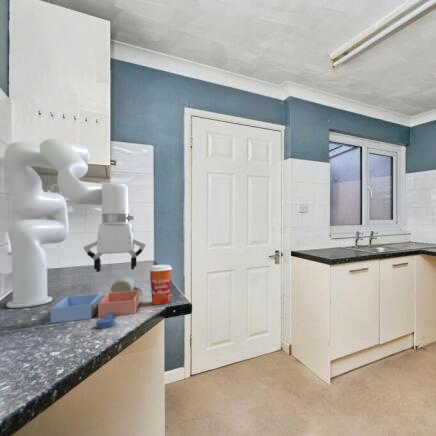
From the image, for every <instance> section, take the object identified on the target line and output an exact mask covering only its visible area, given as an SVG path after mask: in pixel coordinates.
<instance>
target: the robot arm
mask: <svg viewBox="0 0 436 436" xmlns="http://www.w3.org/2000/svg"><path fill="white" fill-rule="evenodd" d="M90 159H91V155H90V152H89V150H88V148H87V147H86V146H84V145H83V144H81V143H77V142H72V141H68V140H63V139H59V138H49V139H45V140H43V141H42V142H41V143H35V142H28V141H14V142H11V143H9V144H8V145H7V146H6V148H5V150H4V155H3V160H4V165H5V167H6V171H7V173H8V176H9V180H10V181H9V182H10V193H11V203H12V204H11V205H12V210H13V212H14V213H15V214H16V215H17V216H18V215H19V216H24V217H46V219H39V218H37V219H36V218H35V219H31V218H30V219H19V220H16V221H14V222H12V223H11V224H10V225H9V227H8V229H7V235H8V239H9V242H10V248H11V263H12V264H11V268H12V269H11V270H12V272H11V273H12V274H11V277H12V279H11V280H12V300H11V301H8V302H7V303H6V308H8V309H21V308H29V307H30V308H31V307H36V306H41V305H42V306H43V305H45V304H48V303H51V302H53V301H54V298H53V296H48V255H47V252H46V251H45V250H44V249H43V247H42V245H47V244H58V243H62V242H65V241H66V240H67V239H68V236H69V229H70V228H69V214H68V212H69V211H68V204H67V201H66V199H65V198H67V200H69V201H70V202H72V203H74V204H77V205H89V206H93V205H94V206H101V223H99V225H98V230H97V236H96V241H94V242H92V243H89V244H86V245H85V246H83V250H84V251H85V253H86V255H87V256H88V257H89V258H91V259H92V260H93V268H94V269H93V270H96V273H99V272H101V271H102V261H101V260H102V259H101V258H100V257H101V256H102V255H105V254H107V255H108V254H125V253H126V254H129V255H130V256H131V258H130V269H131V270H132V271H133V270H135V267H137V257H138V256H139V255H140V254H142V252H143V251H144V249H145V247H146V244H145V243H144V242H141V241H138V240H136V239H134V229H133V224H132V223H130V221H134V220H135V219H134V218H135V216H134V215H130V214H129V213H130V212H129V211H130V210H129V209H130V208H129V207H130V206H129V186H128V185H127V184H126V183H122V182H104V183H99V182H93V181H91V182H90V181H82V180H80V179H81V178H83V177H84V176H86V174H87V173H88V171H89V166H88V163H89V162H90ZM33 167H36V168H41V169H42V168H43V169H52V170H56V171H57V173H58V174H57V177H56V183H57V187H58V190H59V191H60V192H61V193H62V194H63V195H62V194H60V193H58V192H51V191H44V190H43V181H42V178H41V176H40V175H39V174H38V172H37V171H36V170H35V169H34V168H33ZM135 245H136V246H138V247H139V248H138V250H136V251H135V250H134V249H135ZM94 247H96V253H94V252H93V251H92V248H94Z"/></svg>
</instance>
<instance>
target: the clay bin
mask: <svg viewBox="0 0 436 436" xmlns="http://www.w3.org/2000/svg"><path fill="white" fill-rule="evenodd" d="M140 298H141V295H140V290H133V291H123V292H107V293H106V294H105V296H103V297H102V300H101V301H100V303H99V304H98V311H97V316H98V319H100V318H105V316H106V315H107V313H108V312H113V317H115V316H123V315H124V316H125V315H134V314H136V312H137V310H138V307H139V304H140V302H141V301H140V300H141V299H140ZM121 299H125V301H120V300H121Z"/></svg>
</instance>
